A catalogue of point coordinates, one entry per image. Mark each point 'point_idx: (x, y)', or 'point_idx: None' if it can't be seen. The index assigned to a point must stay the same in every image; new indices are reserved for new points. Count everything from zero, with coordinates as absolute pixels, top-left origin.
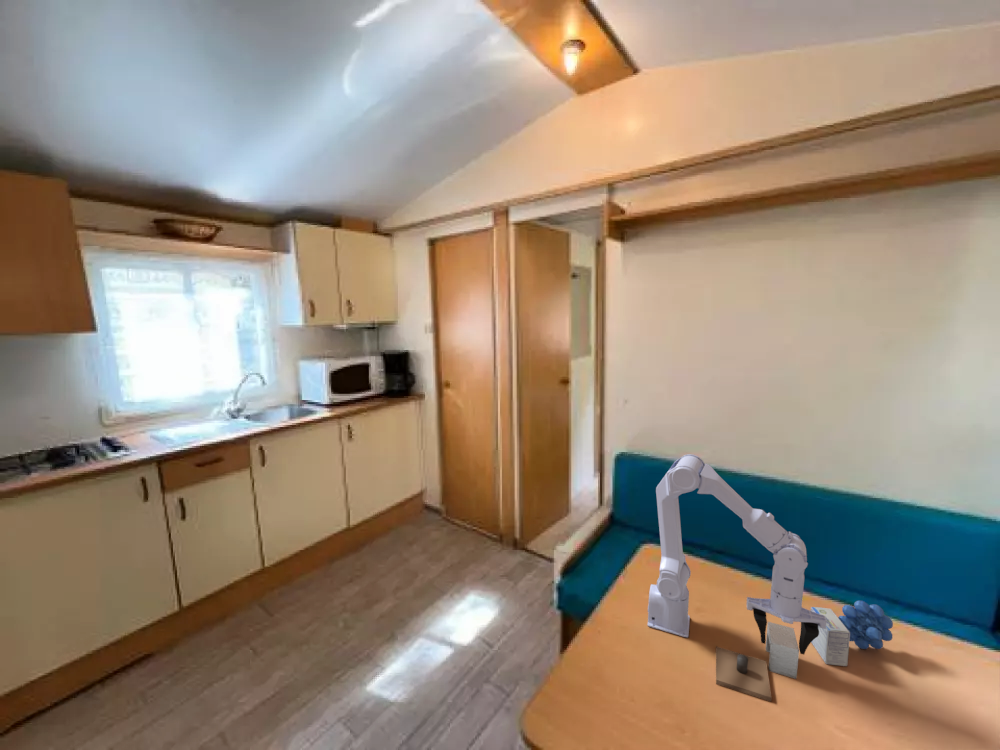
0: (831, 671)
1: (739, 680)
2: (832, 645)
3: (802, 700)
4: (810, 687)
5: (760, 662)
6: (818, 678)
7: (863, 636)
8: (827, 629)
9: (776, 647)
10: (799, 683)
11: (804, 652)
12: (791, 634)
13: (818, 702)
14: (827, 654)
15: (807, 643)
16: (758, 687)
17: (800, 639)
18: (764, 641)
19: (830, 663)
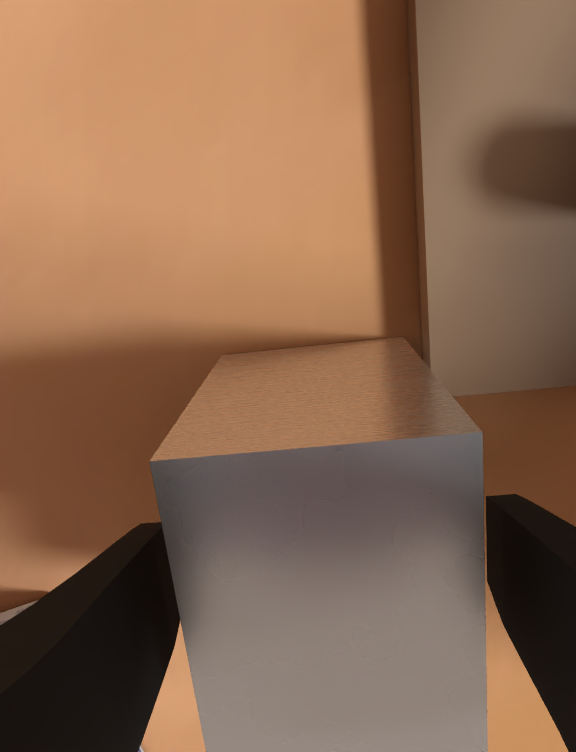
0: (21, 547)
1: None
2: None
3: (181, 147)
4: (133, 322)
5: (476, 358)
6: (89, 441)
7: None
8: None
9: (405, 420)
10: (201, 322)
11: (126, 535)
12: (237, 699)
13: (80, 194)
14: None
15: (43, 606)
16: (516, 23)
17: (148, 670)
18: (507, 502)
19: (23, 608)
